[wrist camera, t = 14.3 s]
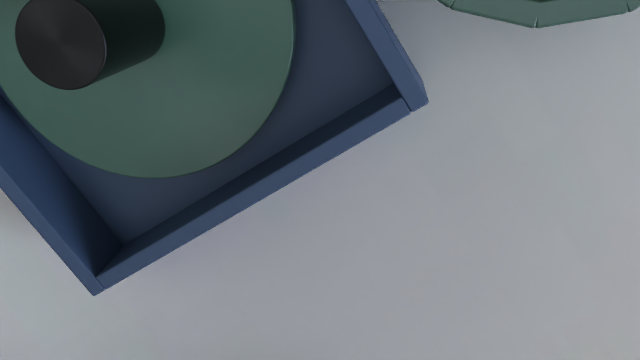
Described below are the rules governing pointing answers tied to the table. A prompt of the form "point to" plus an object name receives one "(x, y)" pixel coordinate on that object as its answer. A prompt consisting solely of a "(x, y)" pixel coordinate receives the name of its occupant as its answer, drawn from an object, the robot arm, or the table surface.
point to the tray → (230, 174)
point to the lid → (147, 77)
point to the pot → (542, 10)
